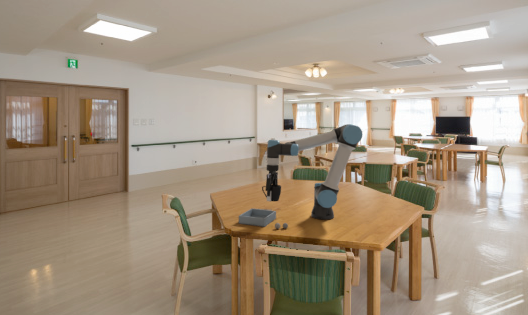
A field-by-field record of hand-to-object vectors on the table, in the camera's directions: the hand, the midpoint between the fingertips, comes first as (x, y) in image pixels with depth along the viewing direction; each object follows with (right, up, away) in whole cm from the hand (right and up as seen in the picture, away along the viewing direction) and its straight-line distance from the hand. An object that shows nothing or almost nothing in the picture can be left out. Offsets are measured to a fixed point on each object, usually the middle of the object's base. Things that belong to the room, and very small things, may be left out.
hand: (271, 199), depth 208 cm
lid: (-5, -12, +21) cm, 25 cm away
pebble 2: (+8, -16, -12) cm, 21 cm away
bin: (-9, -14, +2) cm, 17 cm away
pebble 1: (+3, -16, -13) cm, 21 cm away
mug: (0, 0, -1) cm, 1 cm away
